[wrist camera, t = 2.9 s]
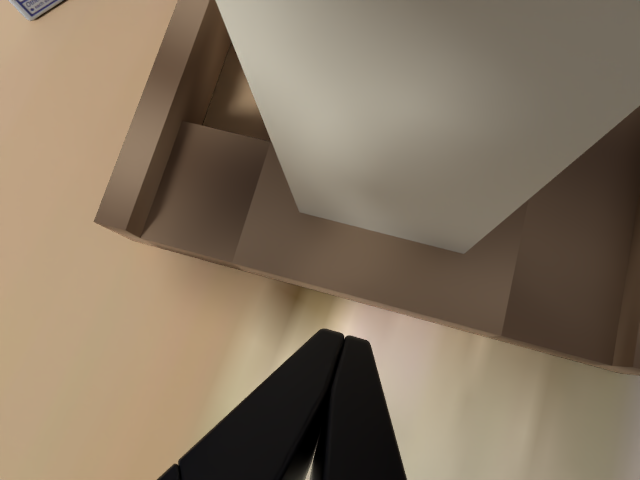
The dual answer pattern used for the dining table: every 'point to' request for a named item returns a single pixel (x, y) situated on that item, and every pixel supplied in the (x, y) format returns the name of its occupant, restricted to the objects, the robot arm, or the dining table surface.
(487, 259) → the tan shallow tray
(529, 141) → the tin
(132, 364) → the dining table surface
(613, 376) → the dining table surface
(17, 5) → the medicine box
